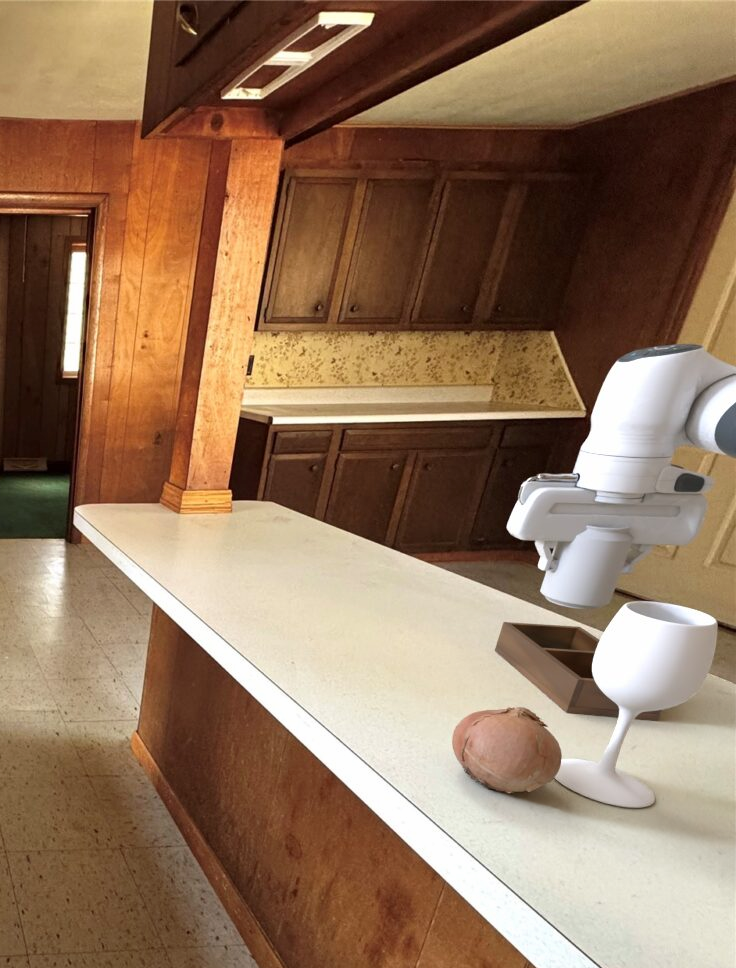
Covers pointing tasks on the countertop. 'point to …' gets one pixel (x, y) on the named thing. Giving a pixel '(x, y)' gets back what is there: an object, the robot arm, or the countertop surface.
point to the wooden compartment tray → (559, 666)
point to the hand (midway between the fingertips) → (583, 571)
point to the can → (587, 568)
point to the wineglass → (642, 686)
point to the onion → (507, 749)
